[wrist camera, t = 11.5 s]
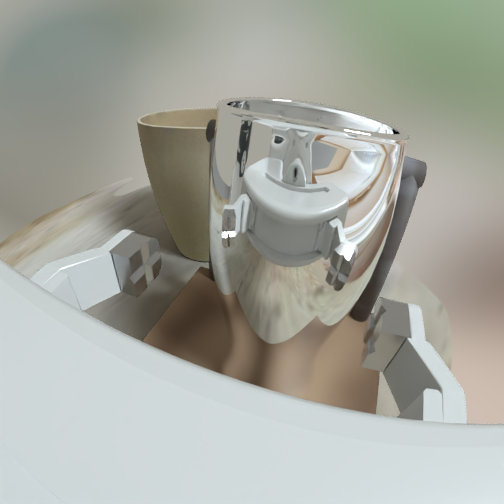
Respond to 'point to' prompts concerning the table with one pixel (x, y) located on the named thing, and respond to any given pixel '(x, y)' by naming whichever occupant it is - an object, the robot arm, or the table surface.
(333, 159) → the beer glass
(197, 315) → the dolly
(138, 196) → the table surface
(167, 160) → the plant pot
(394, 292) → the table surface
